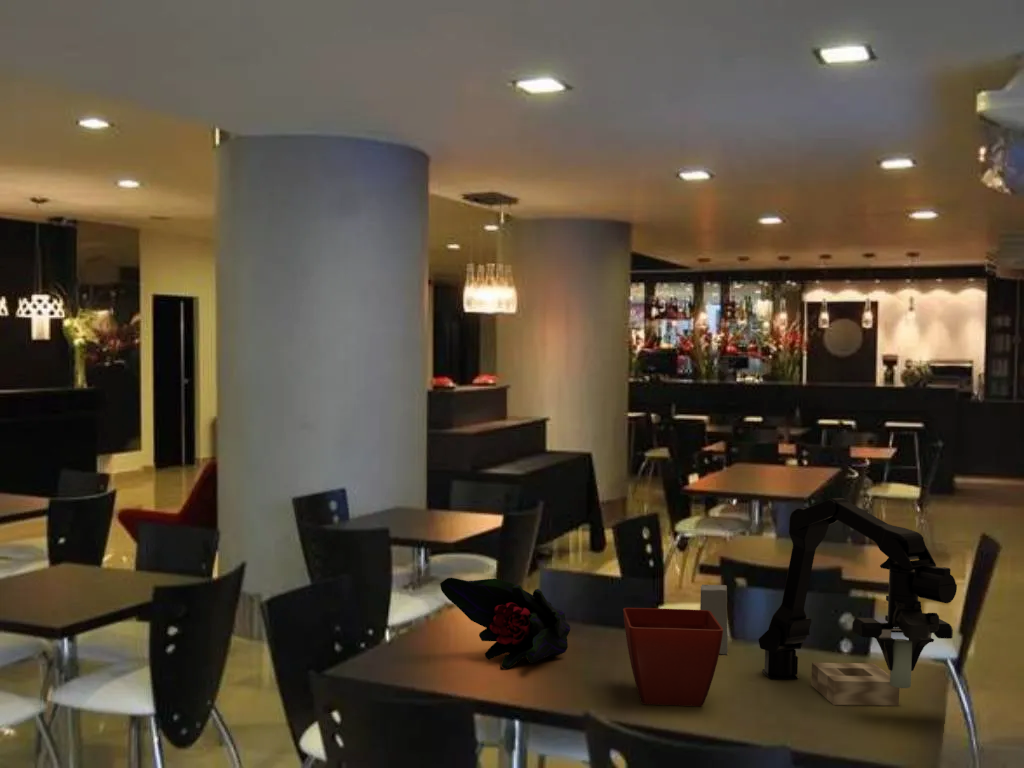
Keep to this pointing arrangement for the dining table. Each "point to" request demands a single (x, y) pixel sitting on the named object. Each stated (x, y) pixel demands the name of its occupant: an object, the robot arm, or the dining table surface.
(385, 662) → the dining table surface
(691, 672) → the plant pot
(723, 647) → the skincare box
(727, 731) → the dining table surface
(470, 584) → the decorative plant
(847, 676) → the socket block
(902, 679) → the sage peg
